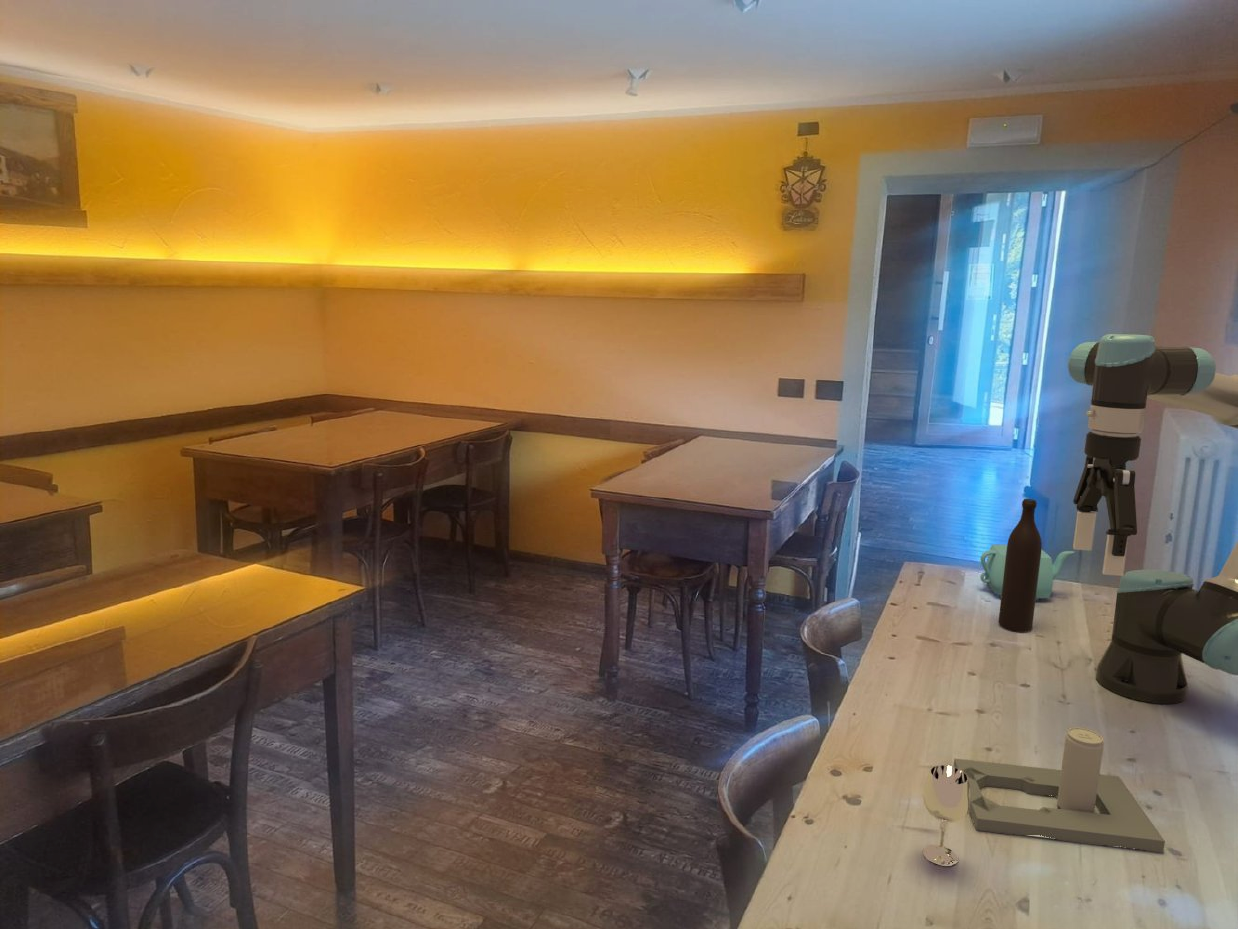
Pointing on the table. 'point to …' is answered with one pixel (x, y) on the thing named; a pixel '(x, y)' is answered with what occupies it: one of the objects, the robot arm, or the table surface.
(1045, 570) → the teapot
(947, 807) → the wineglass
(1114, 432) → the robot arm
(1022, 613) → the wine bottle
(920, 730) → the table surface
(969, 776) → the flat rectangular frame
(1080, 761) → the beverage can
